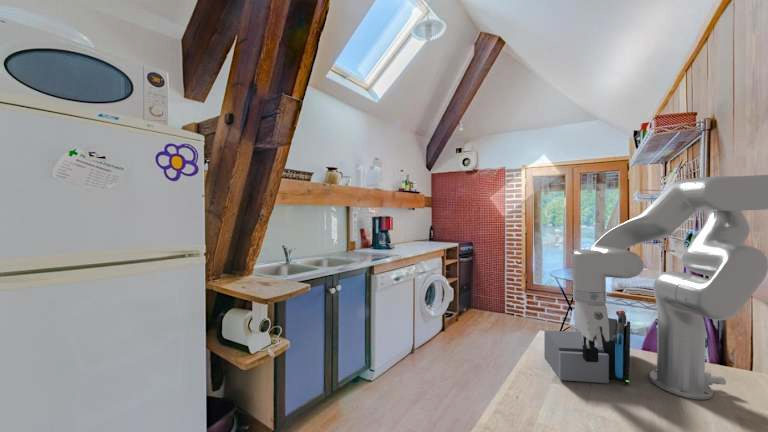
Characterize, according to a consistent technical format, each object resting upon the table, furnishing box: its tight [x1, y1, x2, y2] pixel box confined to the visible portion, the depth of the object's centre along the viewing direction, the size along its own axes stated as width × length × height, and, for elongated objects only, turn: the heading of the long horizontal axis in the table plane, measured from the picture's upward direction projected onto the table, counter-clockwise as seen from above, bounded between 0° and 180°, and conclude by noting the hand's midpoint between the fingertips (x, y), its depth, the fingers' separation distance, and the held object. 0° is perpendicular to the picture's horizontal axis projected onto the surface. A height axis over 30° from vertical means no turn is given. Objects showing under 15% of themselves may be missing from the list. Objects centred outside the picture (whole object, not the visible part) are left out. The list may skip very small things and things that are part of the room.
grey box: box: [543, 330, 604, 379], centre depth 95 cm, size 12×12×9 cm
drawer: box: [558, 351, 610, 384], centre depth 94 cm, size 13×13×8 cm
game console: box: [602, 310, 631, 386], centre depth 95 cm, size 28×6×15 cm, turn 141°
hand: (590, 360), depth 85 cm, fingers closed
